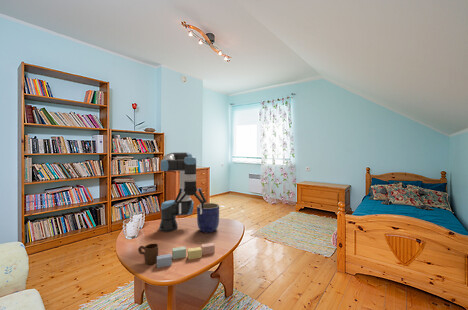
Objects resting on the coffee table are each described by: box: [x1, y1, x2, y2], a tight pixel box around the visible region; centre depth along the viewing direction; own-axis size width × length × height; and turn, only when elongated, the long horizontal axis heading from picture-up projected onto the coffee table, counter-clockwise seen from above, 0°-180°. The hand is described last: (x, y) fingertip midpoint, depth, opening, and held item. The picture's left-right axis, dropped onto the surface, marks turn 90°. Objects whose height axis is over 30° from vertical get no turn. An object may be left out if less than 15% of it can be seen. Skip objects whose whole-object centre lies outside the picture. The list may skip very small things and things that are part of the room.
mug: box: [138, 243, 159, 266], centre depth 125 cm, size 12×8×9 cm, turn 83°
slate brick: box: [156, 253, 173, 269], centre depth 122 cm, size 8×4×5 cm, turn 110°
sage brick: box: [171, 246, 187, 260], centre depth 132 cm, size 8×4×5 cm, turn 110°
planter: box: [196, 202, 220, 234], centre depth 175 cm, size 18×18×21 cm
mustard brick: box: [187, 246, 203, 260], centre depth 131 cm, size 8×4×5 cm, turn 110°
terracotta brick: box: [200, 242, 216, 256], centre depth 137 cm, size 8×4×5 cm, turn 110°
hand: (190, 213), depth 135 cm, fingers open, 13 cm apart
